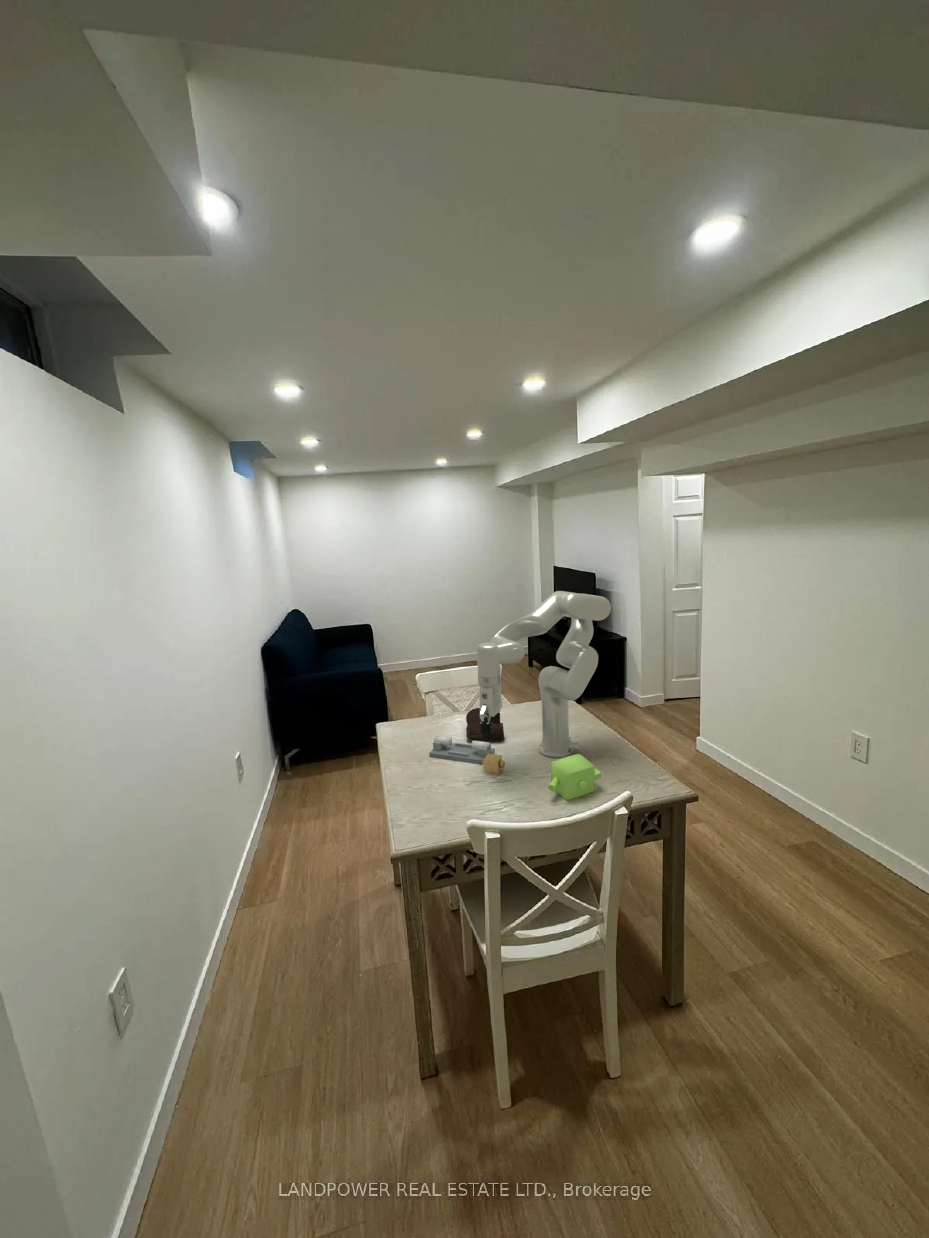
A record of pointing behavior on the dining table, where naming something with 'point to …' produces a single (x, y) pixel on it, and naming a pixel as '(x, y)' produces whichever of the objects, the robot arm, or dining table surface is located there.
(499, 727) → the dark brown l-shaped piece
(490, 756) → the coupler
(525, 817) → the dining table surface
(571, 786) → the gearbox
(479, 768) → the dining table surface
